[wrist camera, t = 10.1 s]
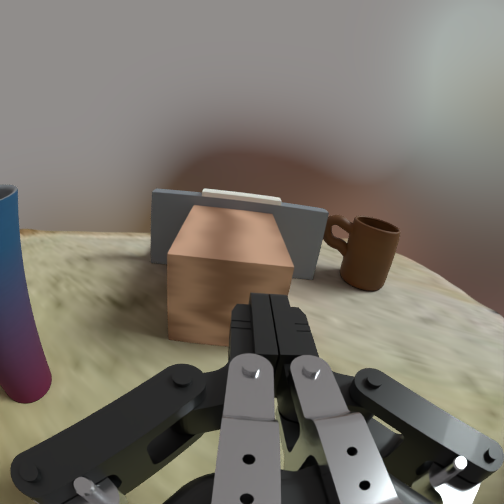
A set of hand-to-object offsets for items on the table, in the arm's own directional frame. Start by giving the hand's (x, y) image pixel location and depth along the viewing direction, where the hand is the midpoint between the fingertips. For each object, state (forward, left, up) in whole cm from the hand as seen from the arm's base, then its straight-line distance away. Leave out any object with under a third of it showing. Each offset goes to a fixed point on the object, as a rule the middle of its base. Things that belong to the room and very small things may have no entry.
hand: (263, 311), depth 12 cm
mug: (-18, -27, -12) cm, 34 cm away
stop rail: (0, -29, -11) cm, 31 cm away
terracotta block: (+1, -18, -12) cm, 21 cm away
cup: (+17, -1, -12) cm, 21 cm away
